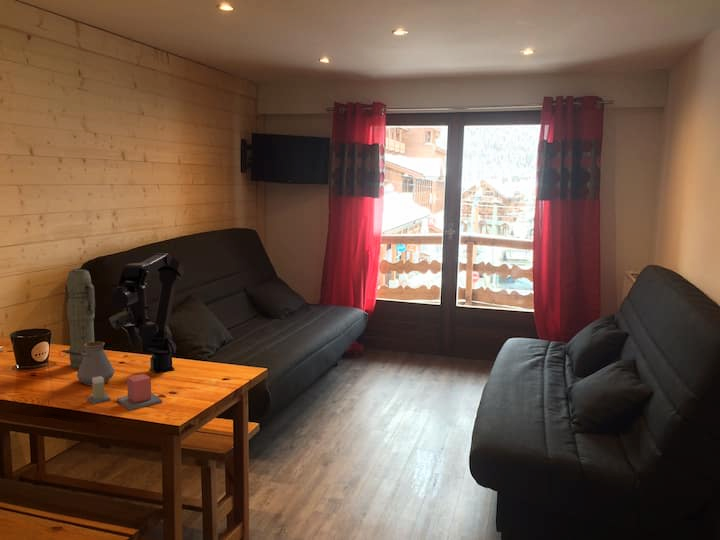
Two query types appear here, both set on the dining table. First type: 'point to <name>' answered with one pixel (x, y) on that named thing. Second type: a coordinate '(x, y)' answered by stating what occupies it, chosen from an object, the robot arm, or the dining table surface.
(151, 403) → the grey plate with post
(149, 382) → the red rectangular block
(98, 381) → the grey base with block
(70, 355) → the grey figurine statue
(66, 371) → the dining table surface
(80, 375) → the coffee pot
